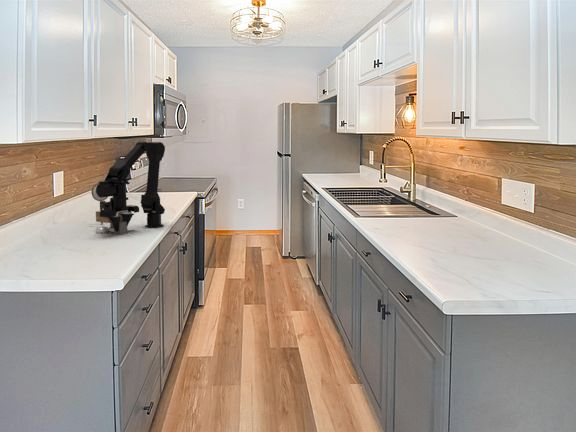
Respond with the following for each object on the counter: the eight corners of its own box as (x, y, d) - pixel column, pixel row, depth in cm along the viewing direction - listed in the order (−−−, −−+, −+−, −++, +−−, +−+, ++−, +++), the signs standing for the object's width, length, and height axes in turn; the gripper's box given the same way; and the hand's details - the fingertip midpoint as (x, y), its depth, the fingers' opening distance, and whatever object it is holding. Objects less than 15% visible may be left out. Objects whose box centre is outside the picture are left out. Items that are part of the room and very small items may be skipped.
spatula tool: (107, 230, 245) (107, 219, 245) (127, 232, 238) (126, 221, 238) (100, 231, 242) (99, 220, 241) (120, 234, 235) (119, 223, 234)
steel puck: (102, 231, 243) (101, 226, 243) (110, 232, 241) (110, 227, 240) (93, 233, 238) (93, 227, 238) (102, 234, 236) (101, 228, 236)
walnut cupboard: (113, 226, 253) (112, 208, 252) (126, 228, 250) (125, 209, 249) (96, 230, 244) (95, 211, 243) (109, 231, 240) (108, 212, 239)
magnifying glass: (109, 223, 263) (108, 182, 259) (111, 223, 261) (109, 182, 258) (92, 225, 257) (90, 183, 254) (93, 225, 256) (91, 183, 252)
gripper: (120, 192, 247) (121, 225, 249) (89, 196, 230) (91, 232, 233) (139, 193, 242) (140, 227, 244) (109, 198, 225) (110, 234, 228)
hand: (120, 230), depth 237 cm, fingers open, 5 cm apart
